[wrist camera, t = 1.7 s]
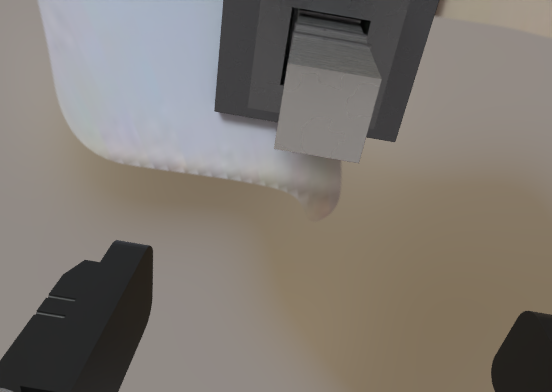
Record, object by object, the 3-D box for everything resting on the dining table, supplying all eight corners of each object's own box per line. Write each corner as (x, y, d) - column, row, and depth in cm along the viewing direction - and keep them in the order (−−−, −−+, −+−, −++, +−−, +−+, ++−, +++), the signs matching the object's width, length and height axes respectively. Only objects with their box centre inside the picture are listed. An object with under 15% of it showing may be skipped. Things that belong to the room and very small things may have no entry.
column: (356, 8, 35) (386, 76, 19) (344, 65, 37) (361, 166, 21) (300, -2, 35) (284, 58, 19) (291, 56, 37) (270, 151, 21)
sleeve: (456, -67, 33) (492, -65, 26) (393, 137, 41) (408, 180, 34) (234, -106, 33) (211, -114, 26) (216, 107, 41) (195, 144, 34)
